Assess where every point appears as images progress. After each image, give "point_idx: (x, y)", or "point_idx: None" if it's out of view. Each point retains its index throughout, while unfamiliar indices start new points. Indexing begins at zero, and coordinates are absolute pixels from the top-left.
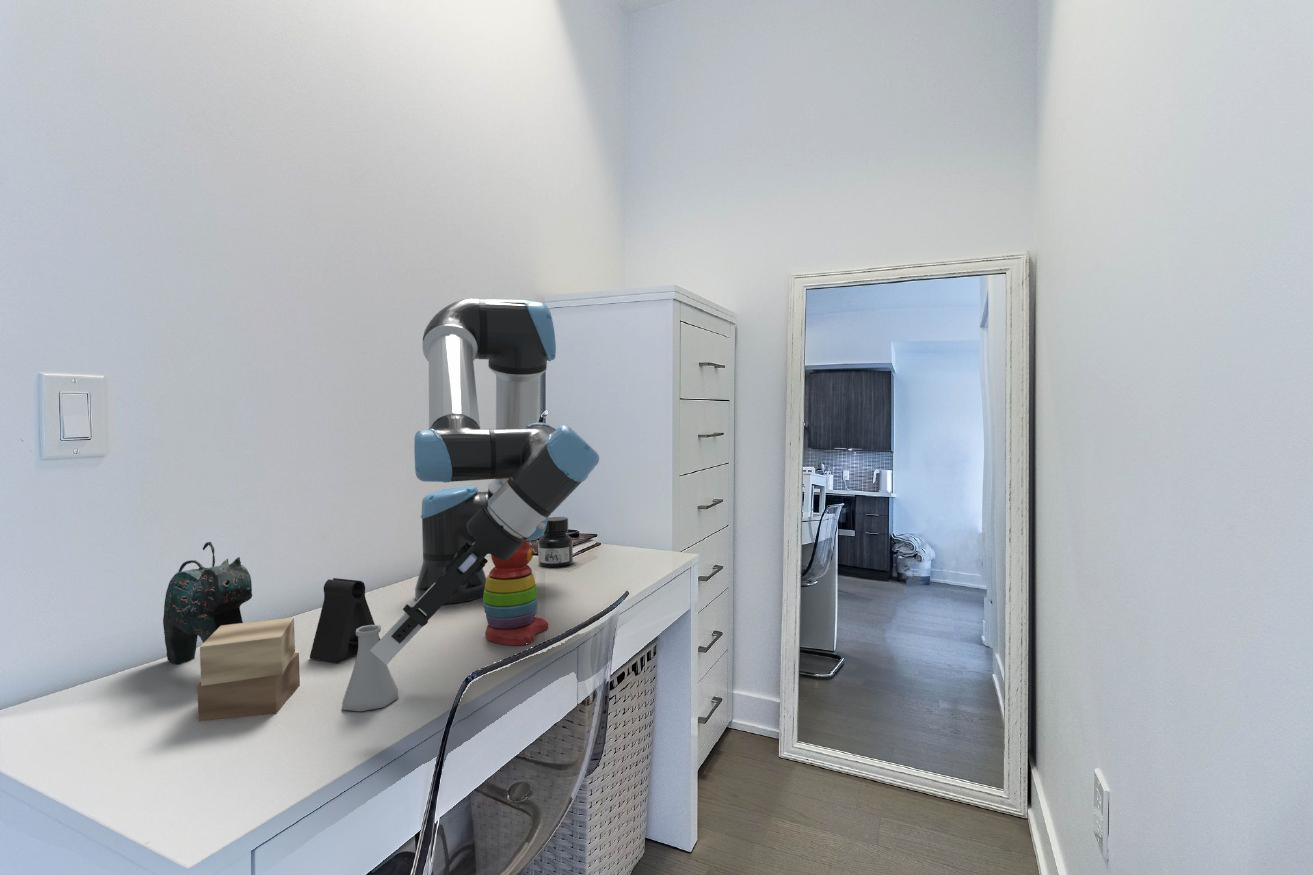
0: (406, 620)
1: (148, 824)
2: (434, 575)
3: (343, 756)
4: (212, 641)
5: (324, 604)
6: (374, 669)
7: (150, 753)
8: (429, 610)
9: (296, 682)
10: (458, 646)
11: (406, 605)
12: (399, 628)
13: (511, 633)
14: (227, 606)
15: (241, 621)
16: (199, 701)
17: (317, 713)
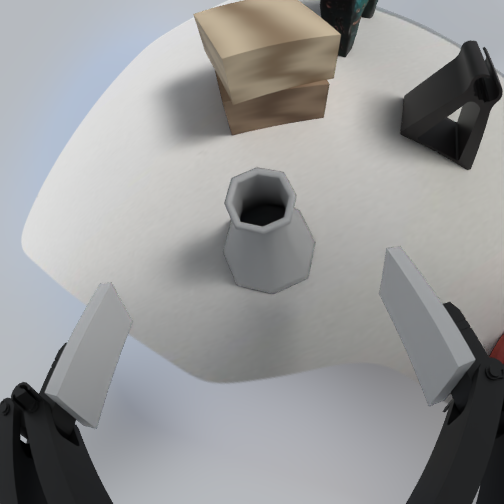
0: (41, 389)
1: (53, 178)
2: None
3: None
4: (214, 11)
5: (452, 62)
6: (241, 252)
7: (156, 88)
8: (24, 453)
9: (311, 113)
10: (480, 302)
11: (12, 397)
12: (53, 367)
13: None
14: None
15: (350, 4)
16: None
17: (227, 187)
